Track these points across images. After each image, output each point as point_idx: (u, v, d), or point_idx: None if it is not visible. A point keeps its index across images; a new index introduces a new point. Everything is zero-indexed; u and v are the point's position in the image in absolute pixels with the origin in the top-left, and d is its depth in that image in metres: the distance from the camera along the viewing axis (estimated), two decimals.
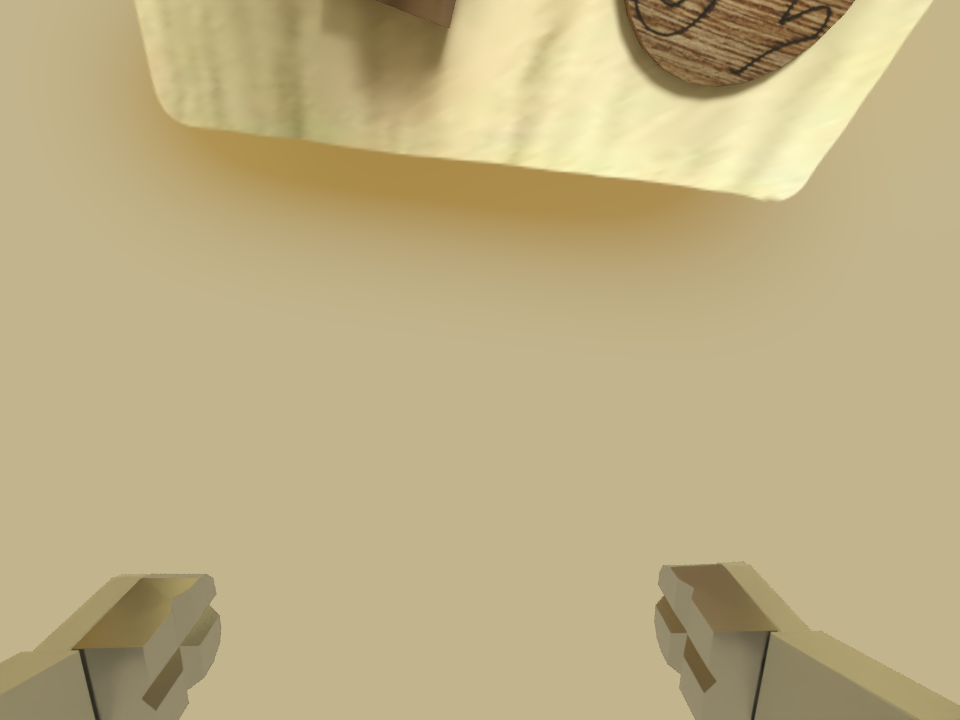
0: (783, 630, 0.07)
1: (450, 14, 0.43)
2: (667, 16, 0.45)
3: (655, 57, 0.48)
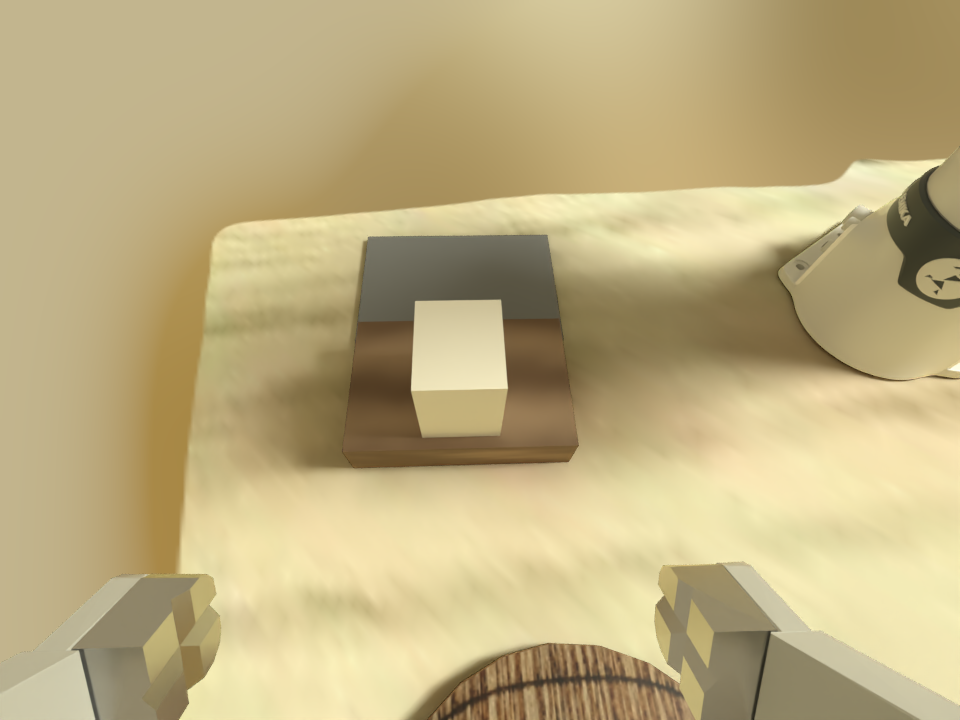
0: (783, 630, 0.07)
1: (356, 449, 0.34)
2: None
3: None
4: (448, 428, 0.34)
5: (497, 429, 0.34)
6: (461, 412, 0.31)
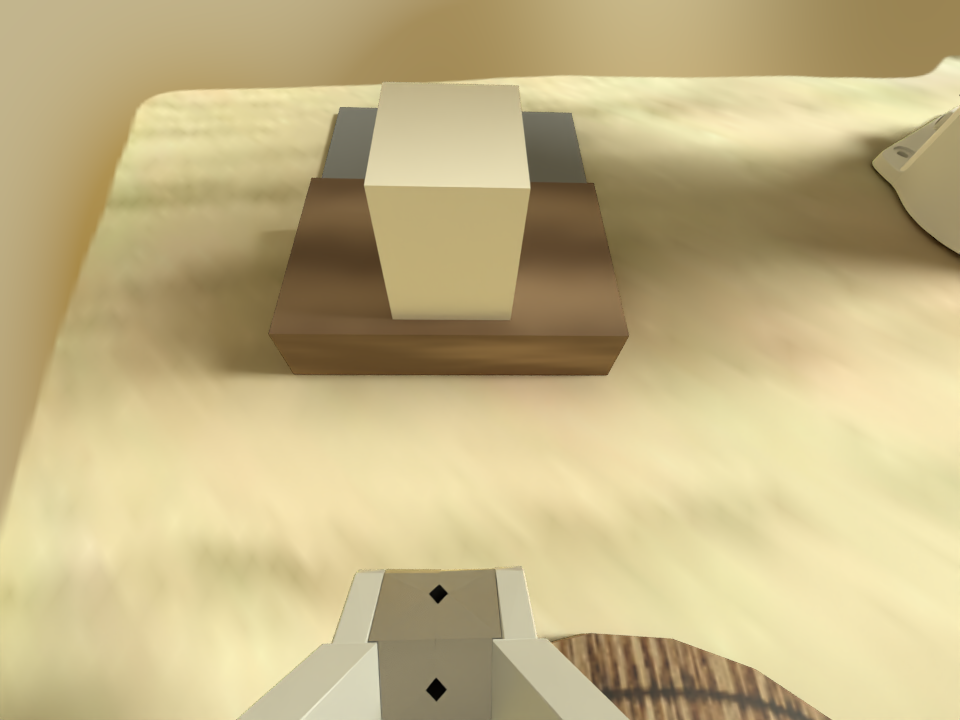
0: (507, 637, 0.06)
1: (291, 331, 0.22)
2: None
3: None
4: (431, 298, 0.22)
5: (507, 304, 0.22)
6: (451, 254, 0.19)
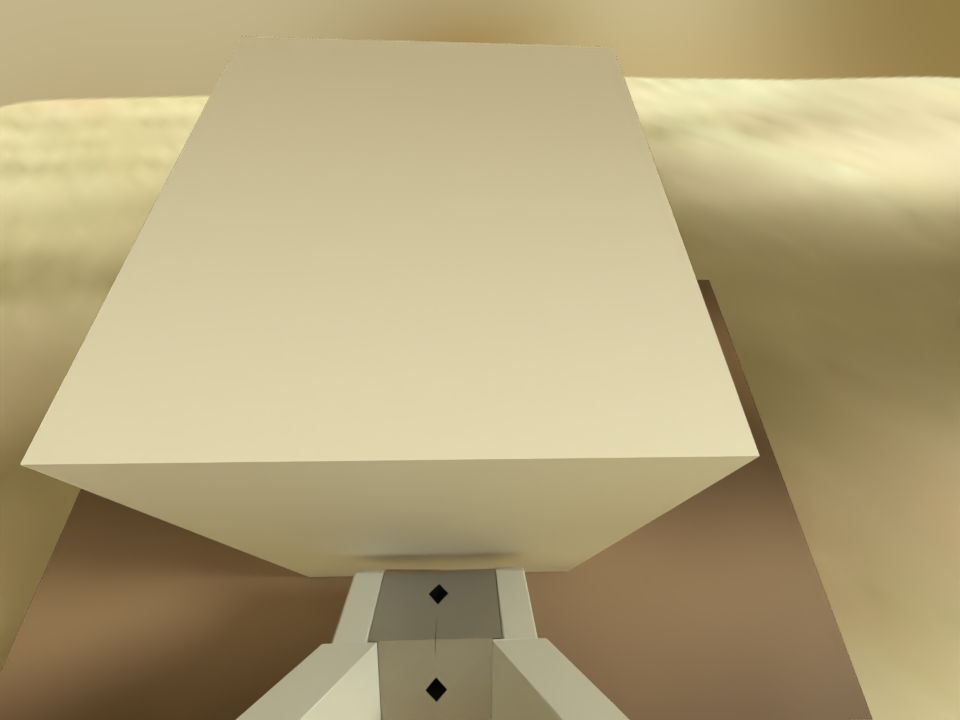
0: (507, 638, 0.06)
1: None
2: None
3: None
4: (390, 565, 0.09)
5: (567, 564, 0.10)
6: (433, 536, 0.07)
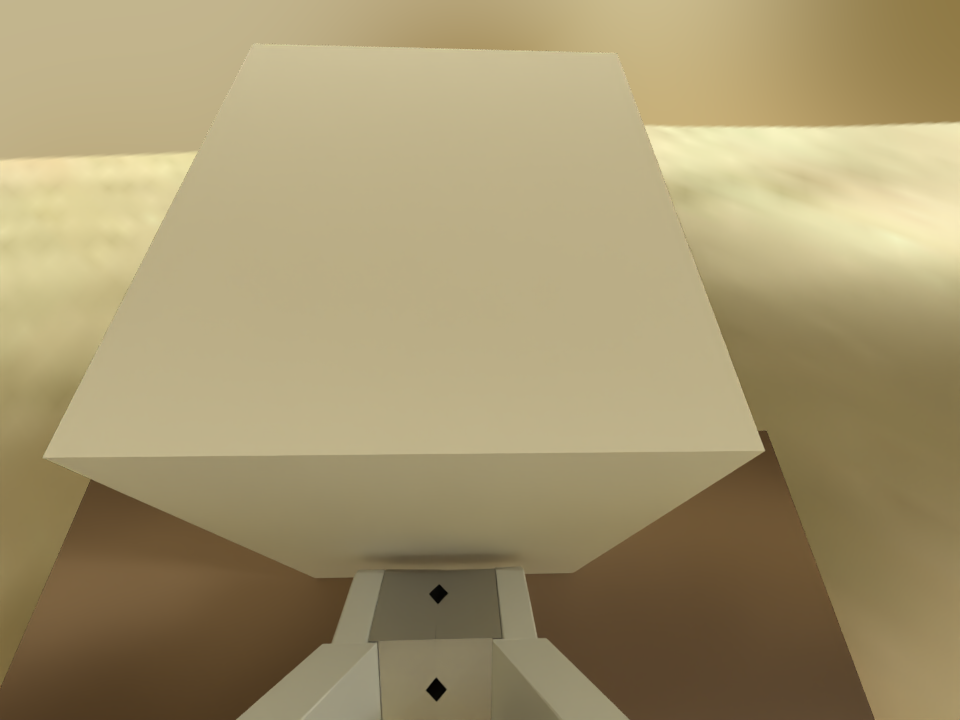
0: (507, 637, 0.06)
1: None
2: None
3: None
4: (396, 566, 0.09)
5: (573, 565, 0.10)
6: (440, 535, 0.07)
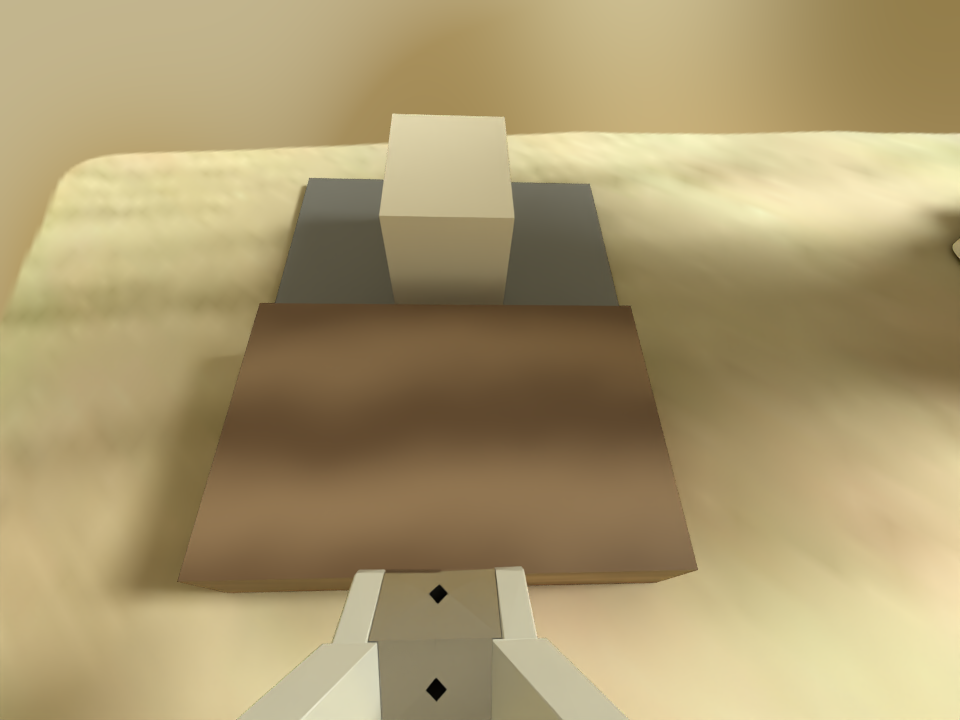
0: (507, 638, 0.06)
1: (211, 575, 0.15)
2: None
3: None
4: (427, 192, 0.21)
5: (506, 198, 0.21)
6: (449, 153, 0.23)
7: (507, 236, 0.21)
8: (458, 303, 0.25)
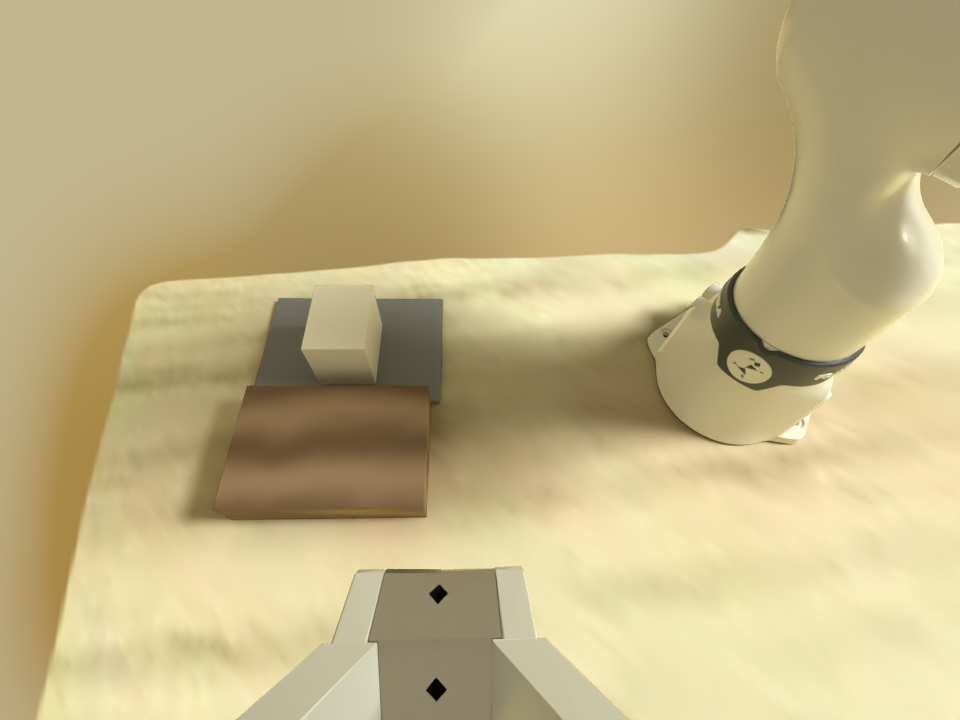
0: (507, 638, 0.06)
1: (225, 507, 0.39)
2: None
3: None
4: (325, 334, 0.44)
5: (362, 337, 0.44)
6: (340, 310, 0.46)
7: (364, 355, 0.45)
8: (351, 379, 0.49)
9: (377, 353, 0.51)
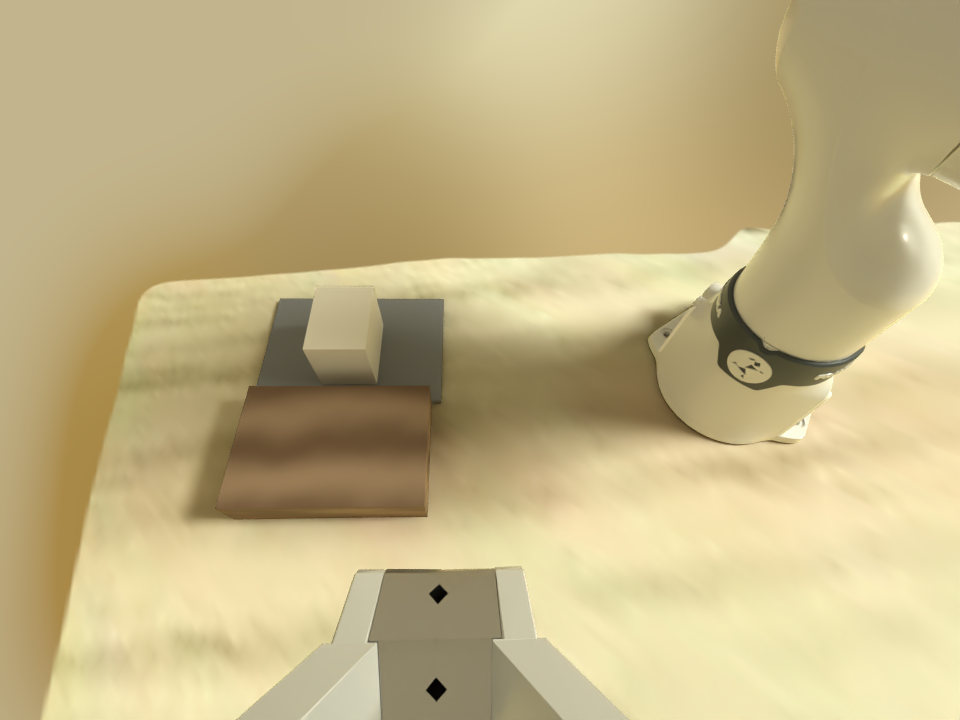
0: (507, 638, 0.06)
1: (228, 506, 0.39)
2: None
3: None
4: (326, 335, 0.45)
5: (364, 338, 0.45)
6: (341, 311, 0.46)
7: (365, 355, 0.45)
8: (352, 379, 0.49)
9: (378, 353, 0.51)
